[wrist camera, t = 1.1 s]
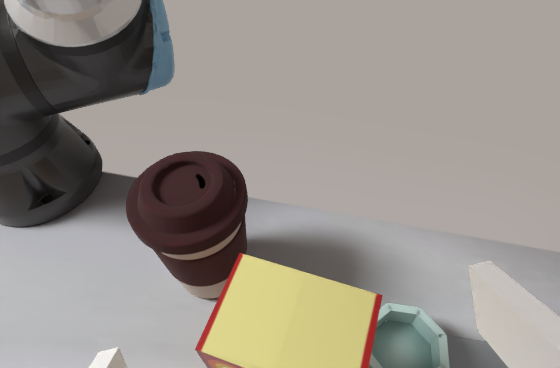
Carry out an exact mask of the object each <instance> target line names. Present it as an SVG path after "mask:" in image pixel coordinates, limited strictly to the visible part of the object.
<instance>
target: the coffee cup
mask: <svg viewBox="0 0 560 368" xmlns="http://www.w3.org/2000/svg"><path fill="white" fill-rule="evenodd" d="M247 202H248V196H247V189H246V184H245V180H244V177H243V175H242V173H241V172H240V170H239V169H238V168H237V167H236V166H235V165H234V164H233V163H232V162H231V161H229V160H228V159H226V158H224V157H222V156H220V155H216V154H214V153H209V152H201V151H192V152H182V153H176V154H173V155H170V156H167V157H165V158H163V159H161V160H160V161H158V162H156V163H155V164H153V165H152V166H150V167H149V168H147V169H146V170H145V171H144V172H143V173H142V174H141V175H140V176H139V177H138V178H137V180H136V181H135V182H134V184H133V185H132V187H131V189H130V191H129V194H128V197H127V202H126V213H127V218H128V221H129V223H130V225H131V227H132V229H133V230H134V232H135V234H136V235H137V236H138V238H139V239H140V240H141V241H142V242H143V243H144V244H146V245H147V246H149V247H150V248H152V249H153V250H154V251H155V253H156V254H157V255H158V257H159V258H160V259H161V261H162V262H163V263H164V265H165V266H166V267H167V269H168V270H169V271H170V273H171V274H172V275H173V276H174V277H175V278H176V279H178V280H179V281H180V282H181V284H182V285H183V286H184V288H185V289H186V290H187V291H188V292H190V293H191V294H193V295H195V296H197V297H201V298H209V299H211V298H217V297H220V294H221V292H222V290H223V288H224V286H225V284H226V281H227V279H228V277H229V275H230V273H231V271H232V268H233V266H234V264H235V262H236V260H237V258H238V255H239V253H242V254H246V250H247V239H246V224H245V212H246V208H247Z"/></svg>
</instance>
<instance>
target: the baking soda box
mask: <svg viewBox="0 0 560 368" xmlns="http://www.w3.org/2000/svg"><path fill="white" fill-rule="evenodd" d="M381 300H382V295H379V294H376V293H373V292H369V291H366V290H363V289H359V288H356V287H353V286H349V285H346V284H343V283H339V282H336V281H333V280H329V279H326V278H323V277H319V276H316V275H313V274H309V273H306V272H303V271H299V270H296V269H293V268H289V267H286V266H282V265H279V264H276V263H272V262H269V261H266V260H262V259H259V258H256V257H252V256H249V255H246V254H242V253H239V255H238V258H237V260H236V262H235V264H234V266H233V268H232V271H231V273H230V275H229V277H228V279H227V281H226V284H225V286H224V288H223V290H222V292H221V294H220V297H219V299H218V301H217V303H216V305H215V307H214V310H213V312H212V314H211V316H210V318H209V320H208V323H207V325H206V327H205V329H204V331H203V333H202V336H201V338H200V340H199V342H198V344H197V346H196V348H195V350H196V351H197V353H198V354H199V356H200V357H201V359H202V360H203V362H204V363H205V364H206V366H207V367H208V368H369V362H370V357H371V352H372V347H373V341H374V336H375V331H376V326H377V321H378V315H379V310H380V305H381Z"/></svg>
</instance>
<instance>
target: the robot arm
mask: <svg viewBox="0 0 560 368" xmlns="http://www.w3.org/2000/svg"><path fill="white" fill-rule="evenodd" d="M173 75H174V53H173V46H172V40H171V38H170V35H169V25H168V20H167V15H166V11H165V8H164V3H163V0H0V224H2V225H6V226H14V227H23V226H31V225H36V224H40V223H44V222H47V221H50V220H52V219H55V218H57V217H59V216H61V215H63V214H65V213H67V212H68V211H70V210H71V209H73V208H74V207H76V206H77V205H78V204H80V203H81V202H82V201H83V200H84V199H85V198H86V197H87V196H88V195H89V194H90V193H91V192H92V190H93V189H94V187H95V186H96V184H97V182H98V181H99V178H100V176H101V172H102V159H101V156H100V154H99V152H98V150H97V149H96V147H95V145H94V143H93V142H92V141H91V140H90V139H89V137H87V136H86V135H85V134H84V133H82V132H81V131H80V130H79V129H77V128H76V127H75V126H74V125H72V124H71V123H70V122H69V121H67V120H66V119H65V118H64V117H62V116H61V115H60V114H59V113H61V112H65V111H69V110H74V109H77V108H82V107H86V106H90V105H94V104H98V103H103V102H107V101H111V100H115V99H120V98H125V97H129V96H133V95H138V94H139V95H142V94H145V93H147V92H148V91H150V90H154V89H157V88H160V87H163V86H166V85H167V84H168V83H170V81H171V80H172V78H173ZM468 267H469V274H470V281H471V288H472V295H473V302H474V309H475V316H476V323H477V330H478V332H479V333H480V334H481V336H482V337H483V338H484V339H485V340H486V341H487V343H488V344H489V345H490V346H491V347H492V349H493V350H494V351H495V352H496V353H497V355H498V356H499V357H500V358H501V359H502V361H503V362H504V363H505V364H506V365H507V367H508V368H560V317H559V316H558V315H557V314H556V313H554V312H553V311H552V310H551V309H549V308H548V307H547V306H546V305H544V304H543V303H542V302H541V301H539V300H538V299H537V298H536V297H534V296H533V295H532V294H531V293H529V292H528V291H527V290H526V289H524V288H523V287H522V286H521V285H519V284H518V283H517V282H516V281H515V280H513V279H512V278H511V277H510V276H508V275H507V274H506V273H505V272H503V271H502V270H501V269H500V268H498V267H497V266H496V265H495V264H493V263H492V262H491V261H490V260H489V261H485V262H481V263H476V264H472V265H468ZM89 368H127V366H126V364H125V361H124V359H123V357H122V354H121V352H120V349H119V347H117V348H113V349H109V350H104V351H100V352H99V353H98V354H97V356H96V357H95V359H94V360H93V362H92V363H91V365H90V366H89Z"/></svg>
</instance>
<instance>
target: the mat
mask: <svg viewBox="0 0 560 368" xmlns="http://www.w3.org/2000/svg"><path fill="white" fill-rule="evenodd" d="M447 345H448V356H449V367H450V368H508V367H507V365H506V364H505V363H504V362H503V361H502V359H501V358H500V357H499V356H498V355H497V353H496V352H495V351H494V350H493V349H492V347H491V346H490V345H489V344H488V343H487V342H484V341H478V340H472V339H466V338H459V337H453V336H447Z"/></svg>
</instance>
